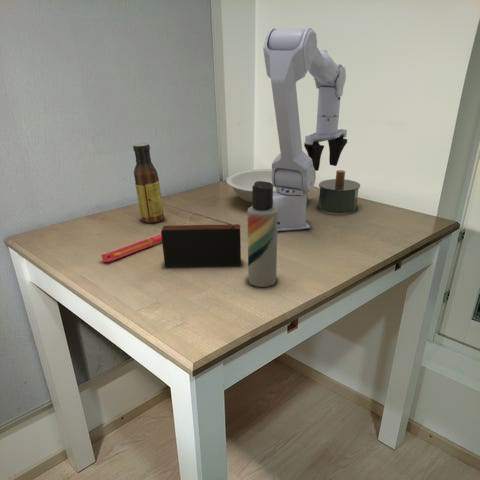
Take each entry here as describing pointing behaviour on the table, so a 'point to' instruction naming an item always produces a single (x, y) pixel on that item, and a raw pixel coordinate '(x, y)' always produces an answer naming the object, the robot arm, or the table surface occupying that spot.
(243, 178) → the soup bowl
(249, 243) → the lotion bottle
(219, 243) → the radio
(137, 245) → the long red bar
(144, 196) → the sauce bottle
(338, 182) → the lid
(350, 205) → the pot
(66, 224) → the table surface
